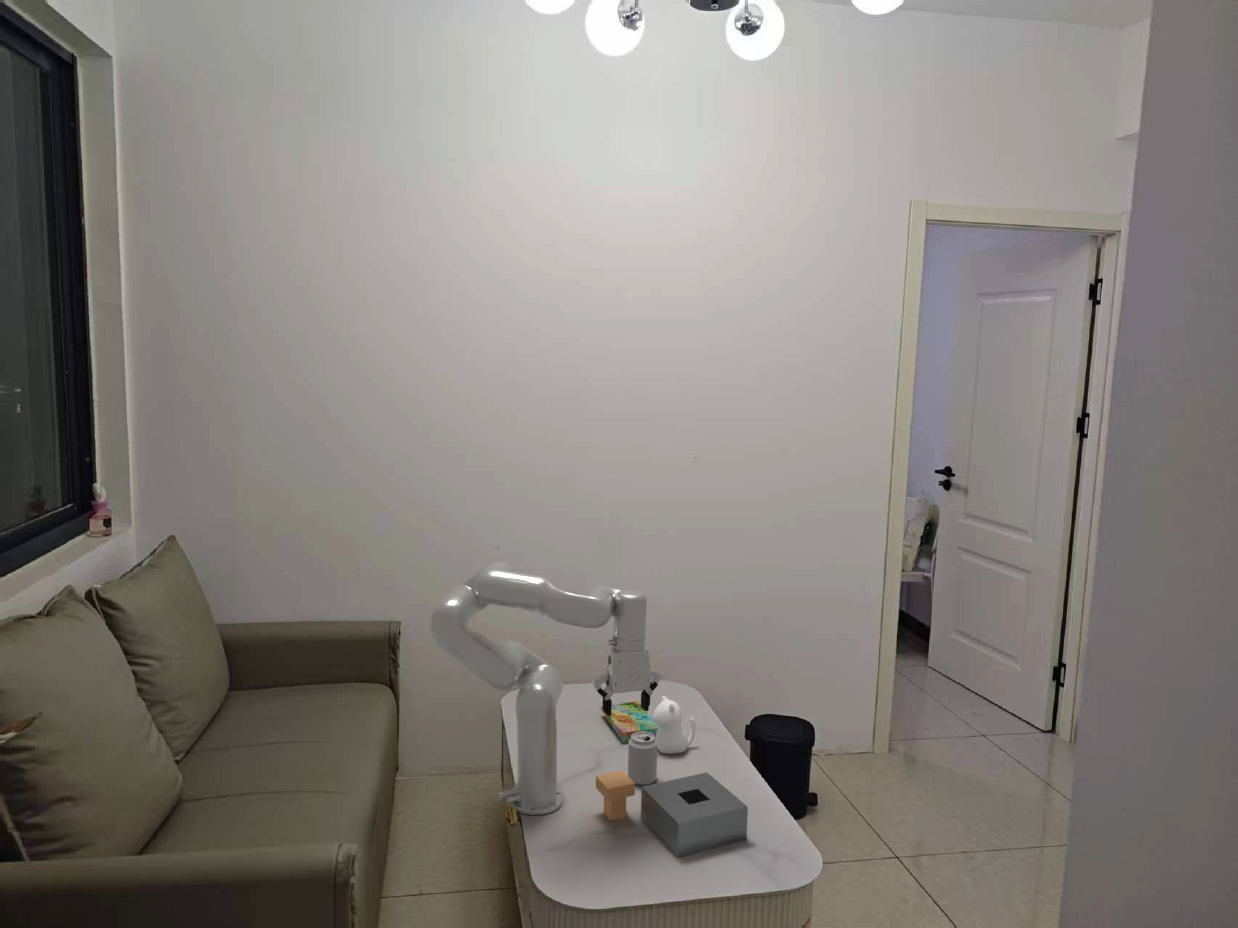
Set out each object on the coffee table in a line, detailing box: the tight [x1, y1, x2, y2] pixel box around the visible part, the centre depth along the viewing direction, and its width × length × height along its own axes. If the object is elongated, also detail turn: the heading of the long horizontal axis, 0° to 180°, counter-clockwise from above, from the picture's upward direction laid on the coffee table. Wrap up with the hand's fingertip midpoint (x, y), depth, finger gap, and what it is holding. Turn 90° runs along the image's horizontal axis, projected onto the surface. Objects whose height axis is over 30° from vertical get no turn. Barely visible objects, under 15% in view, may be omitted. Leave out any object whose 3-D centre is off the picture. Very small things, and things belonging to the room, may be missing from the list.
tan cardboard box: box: [595, 770, 636, 821], centre depth 213 cm, size 7×7×9 cm
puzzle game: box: [600, 700, 659, 743], centre depth 262 cm, size 12×5×20 cm
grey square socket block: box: [640, 772, 749, 859], centre depth 207 cm, size 18×18×8 cm
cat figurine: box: [652, 695, 697, 755], centre depth 248 cm, size 9×12×15 cm
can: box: [627, 732, 658, 786], centre depth 230 cm, size 8×8×12 cm
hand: (626, 711), depth 213 cm, fingers open, 9 cm apart
